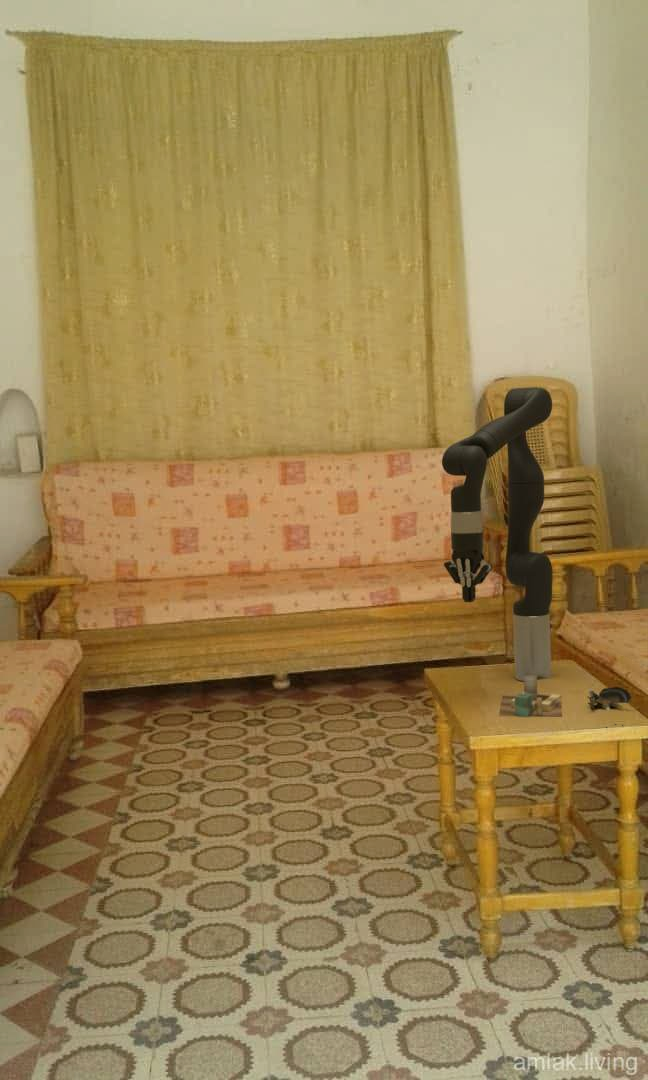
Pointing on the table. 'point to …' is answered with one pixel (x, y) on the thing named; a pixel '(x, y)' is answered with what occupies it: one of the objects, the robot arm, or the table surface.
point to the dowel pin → (539, 706)
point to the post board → (512, 710)
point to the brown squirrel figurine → (609, 698)
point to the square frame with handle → (534, 703)
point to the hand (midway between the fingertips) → (469, 601)
